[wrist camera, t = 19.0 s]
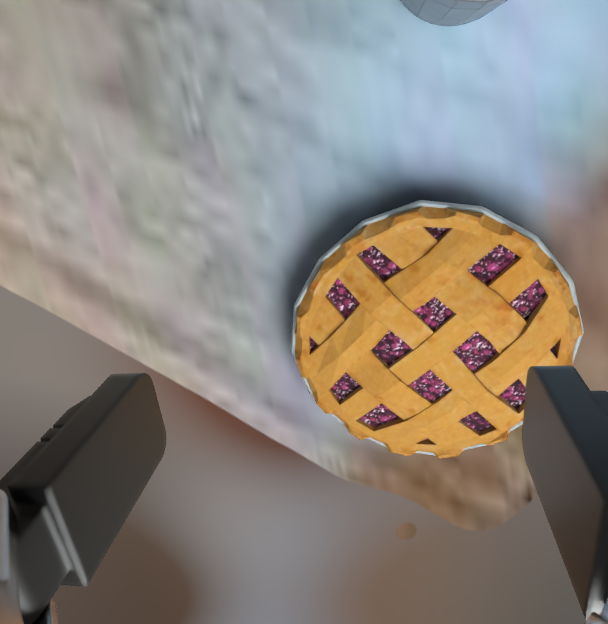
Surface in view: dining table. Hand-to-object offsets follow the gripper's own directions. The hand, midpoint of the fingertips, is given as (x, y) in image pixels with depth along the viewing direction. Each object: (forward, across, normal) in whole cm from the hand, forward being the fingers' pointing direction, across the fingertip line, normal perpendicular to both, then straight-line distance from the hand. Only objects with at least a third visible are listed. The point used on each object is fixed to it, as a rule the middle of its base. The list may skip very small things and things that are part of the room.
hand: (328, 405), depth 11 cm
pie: (+30, -4, +13) cm, 33 cm away
